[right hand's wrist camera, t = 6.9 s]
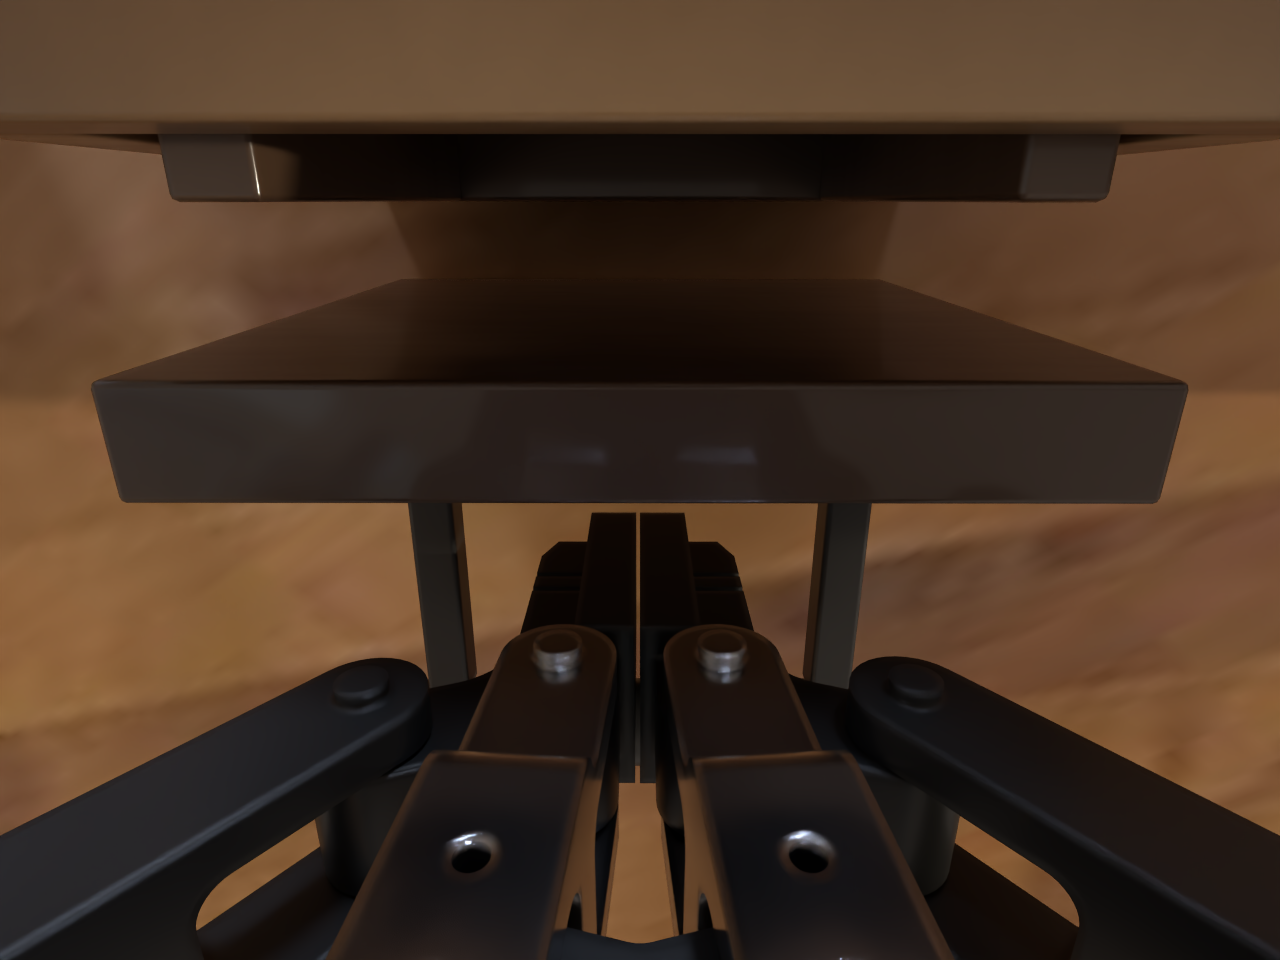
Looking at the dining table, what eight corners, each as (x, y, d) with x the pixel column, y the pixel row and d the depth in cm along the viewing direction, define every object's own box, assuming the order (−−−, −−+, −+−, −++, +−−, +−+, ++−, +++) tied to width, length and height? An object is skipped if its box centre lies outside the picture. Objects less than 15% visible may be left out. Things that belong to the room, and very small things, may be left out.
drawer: (849, 569, 18) (1051, 924, 9) (430, 568, 18) (228, 922, 9) (962, -445, 11) (1935, -2395, 3) (318, -445, 11) (-652, -2390, 3)
